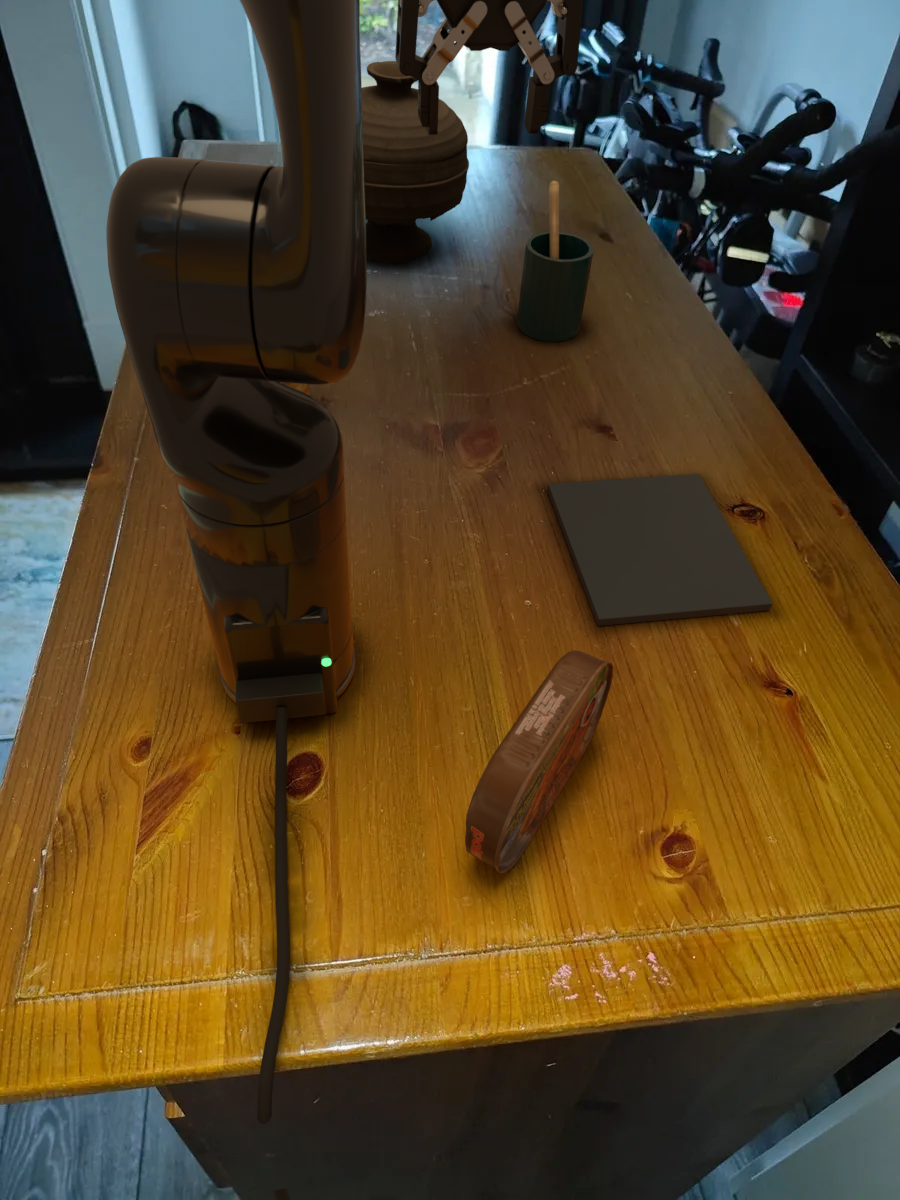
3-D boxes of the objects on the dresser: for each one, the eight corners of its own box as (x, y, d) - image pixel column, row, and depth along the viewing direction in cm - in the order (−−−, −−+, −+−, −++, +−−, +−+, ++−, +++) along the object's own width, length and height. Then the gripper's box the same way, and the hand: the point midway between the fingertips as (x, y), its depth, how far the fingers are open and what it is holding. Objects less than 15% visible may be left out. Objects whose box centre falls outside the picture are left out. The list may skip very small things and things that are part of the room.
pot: (495, 232, 108) (499, 55, 93) (417, 297, 99) (407, 112, 83) (381, 199, 114) (367, 28, 99) (298, 257, 105) (268, 78, 89)
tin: (496, 899, 49) (510, 828, 43) (449, 870, 50) (457, 797, 44) (605, 720, 58) (630, 640, 52) (564, 699, 59) (584, 618, 53)
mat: (769, 610, 66) (773, 603, 65) (597, 626, 64) (599, 619, 63) (696, 480, 76) (699, 473, 76) (546, 490, 74) (548, 483, 74)
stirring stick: (559, 333, 92) (578, 210, 82) (550, 333, 92) (568, 210, 82) (542, 298, 97) (558, 178, 88) (533, 298, 97) (548, 179, 88)
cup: (586, 340, 92) (601, 260, 86) (524, 343, 91) (534, 262, 85) (570, 309, 97) (583, 230, 90) (510, 311, 96) (519, 231, 89)
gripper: (404, -115, 55) (403, 150, 67) (613, -108, 57) (575, 147, 69) (390, -135, 60) (391, 115, 72) (583, -129, 62) (552, 113, 74)
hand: (481, 131), depth 70 cm, fingers open, 8 cm apart
